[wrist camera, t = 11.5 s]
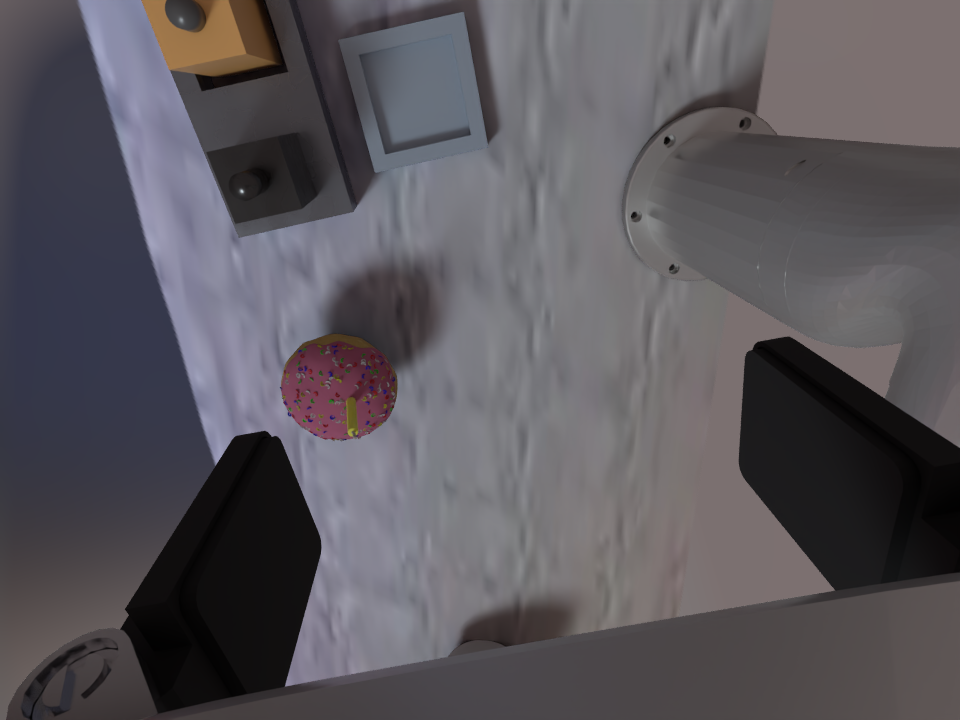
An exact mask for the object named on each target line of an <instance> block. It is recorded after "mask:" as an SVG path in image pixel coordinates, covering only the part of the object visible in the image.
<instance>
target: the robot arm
mask: <svg viewBox="0 0 960 720" xmlns="http://www.w3.org/2000/svg"><path fill="white" fill-rule="evenodd" d="M740 121H741V125H740V127H739V124H740ZM665 137H667V139H668V140H667V142H666V143H665V144H664V139H665ZM633 212H635V215H634V217H632V218H631V214H632V213H633ZM622 222H623V226H624V231H625V235H626V237H627V239H628V242H629V244H630V246H631V248H632V250H633V251H634V252H635V254H636V255H637V256H638V258H639V259H640V260H641V261H642V262H644V263H645V264H646V265H647V266H648V267H650V268H651V269H653V270H654V271H656V272H657V273H659V274H661V275H663V276H666V277H668V278H671V279H676V280H682V281H700V280H705V279H710V280H711V281H713V282H715V283H716V284H718V285H720V286H721V287H723V288H725V289H726V290H728V291H730V292H731V293H733V294H735V295H736V296H738V297H740V298H742V299H743V300H745V301H747V302H748V303H750V304H752V305H753V306H755V307H757V308H758V309H760V310H762V311H763V312H765V313H767V314H768V315H770V316H772V317H774V318H775V319H777V320H779V321H780V322H782V323H784V324H785V325H787V326H789V327H791V328H793V329H795V330H796V331H798V332H800V333H802V334H803V335H806V336H808V337H810V338H812V339H814V340H817V341H820V342H823V343H827V344H830V345H835V346H844V347H855V348H863V347H876V346H886V345H893V344H898V343H902V346H901V350H900V354H899V357H898V360H897V363H896V365H895V368H894V371H893V373H892V376H891V379H890V382H889V388H888V391H887V394H886V396H885V398H883V397H881V396H880V395H878V394H877V393H875V392H874V391H872V390H871V389H869V388H868V387H866V386H865V385H863V384H862V383H860V382H859V381H857V380H856V379H854V378H853V377H851V376H849V375H848V374H846V373H845V372H843V371H842V370H840V369H839V368H837V367H836V366H834V365H833V364H831V363H830V362H828V361H827V360H825V359H823V358H822V357H821V356H819V355H817V354H816V353H814V352H813V351H811V350H810V349H808V348H807V347H805V346H804V345H802V344H801V343H799V342H798V341H796V340H795V339H793V338H791V337H783V338H776V339H771V340H765V341H760V342H757V343H756V344H755V345H754V347H753V350H751V351H748V352H747V354H746V356H745V366H744V383H743V399H742V415H741V432H740V447H739V467H740V471H741V473H742V475H743V477H744V479H745V480H746V482H747V483H748V484H749V485H750V486H751V488H752V489H753V490H754V491H755V493H756V494H757V495H758V496H759V497H760V498H761V500H762V501H763V502H764V504H765V505H766V506H767V507H768V508H769V510H770V511H771V512H772V513H773V514H774V516H775V517H776V518H777V520H778V521H779V522H780V523H781V524H782V526H783V527H784V528H785V529H786V530H787V532H788V533H789V534H790V535H791V537H792V538H793V539H794V540H795V542H796V543H797V544H798V545H799V547H800V548H801V549H802V550H803V551H804V553H805V554H806V555H807V556H808V557H809V559H810V560H811V561H812V562H813V564H814V565H815V566H816V567H817V568H818V570H819V571H820V572H821V574H822V575H823V576H824V577H825V578H826V580H827V581H828V582H829V583H830V585H831V586H832V587H833V588H834V589H835V591H831V592H826V593H819V594H813V595H808V596H801V597H795V598H790V599H783V600H777V601H772V602H765V603H759V604H754V605H747V606H741V607H736V608H729V609H723V610H718V611H711V612H706V613H700V614H694V615H688V616H682V617H676V618H670V619H664V620H658V621H652V622H647V623H641V624H635V625H629V626H623V627H617V628H612V629H606V630H600V631H594V632H588V633H583V634H577V635H571V636H565V637H560V638H554V639H548V640H542V641H537V642H531V643H525V644H519V645H514V646H508V647H502V648H496V649H491V650H485V651H479V652H473V653H468V654H462V655H457V656H451V657H446V658H440V659H434V660H429V661H423V662H418V663H412V664H406V665H401V666H395V667H390V668H384V669H379V670H373V671H367V672H362V673H356V674H351V675H345V676H339V677H334V678H328V679H323V680H317V681H312V682H307V683H302V684H297V685H292V686H287V687H285V684H286V680H287V676H288V673H289V669H290V665H291V662H292V658H293V654H294V651H295V647H296V643H297V640H298V636H299V632H300V629H301V625H302V621H303V618H304V614H305V610H306V607H307V603H308V599H309V595H310V592H311V588H312V584H313V581H314V577H315V573H316V570H317V566H318V562H319V559H320V555H321V539H320V535H319V532H318V530H317V528H316V525H315V523H314V520H313V518H312V515H311V513H310V510H309V508H308V505H307V503H306V501H305V498H304V496H303V493H302V491H301V488H300V486H299V483H298V481H297V478H296V476H295V474H294V471H293V469H292V466H291V464H290V461H289V459H288V456H287V454H286V452H285V449H284V447H283V444H282V442H281V440H280V439H279V438H278V437H277V436H274V437H271V435H270V434H269V433H268V432H266V431H261V432H255V433H250V434H244V435H239V436H235V437H234V438H233V439H232V441H231V443H230V444H229V446H228V447H227V449H226V450H225V452H224V454H223V455H222V457H221V458H220V460H219V462H218V463H217V465H216V466H215V468H214V469H213V471H212V473H211V474H210V476H209V477H208V479H207V481H206V482H205V484H204V485H203V487H202V488H201V490H200V492H199V493H198V495H197V496H196V498H195V499H194V501H193V503H192V504H191V506H190V508H189V509H188V511H187V512H186V514H185V516H184V517H183V518H182V520H181V522H180V523H179V525H178V526H177V528H176V530H175V531H174V533H173V534H172V536H171V537H170V539H169V541H168V542H167V544H166V545H165V547H164V549H163V550H162V552H161V553H160V555H159V556H158V558H157V560H156V561H155V563H154V564H153V566H152V567H151V569H150V571H149V572H148V574H147V576H146V577H145V578H144V580H143V582H142V583H141V585H140V586H139V588H138V590H137V591H136V593H135V594H134V596H133V597H132V599H131V601H130V602H129V604H128V605H127V607H126V608H125V610H126V611H127V613H128V614H129V616H128V618H127V619H126V621H125V622H124V624H123V626H122V627H121V629H120V630H119V629H115V628H107V629H99V630H96V631H93V632H90V633H87V634H84V635H82V636H80V637H78V638H76V639H74V640H72V641H70V642H69V643H67V644H65V645H63V646H62V647H61V648H59V649H58V650H56V651H55V652H54V653H52V654H51V655H49V656H48V657H47V658H46V659H44V660H43V661H42V662H41V663H40V664H39V665H38V666H37V667H36V668H35V669H34V670H33V671H32V672H31V673H30V674H29V675H28V676H27V677H26V679H25V680H24V681H23V682H22V684H21V685H20V686H19V687H18V689H17V690H16V692H15V694H14V696H13V698H12V700H11V702H10V704H9V706H8V712H7V718H6V720H960V148H956V147H927V146H912V145H900V144H884V143H870V142H858V141H845V140H844V141H843V140H831V139H819V138H805V137H791V136H779V135H777V133H776V132H775V131H774V130H773V129H772V128H771V127H770V125H769V124H768V123H767V122H765V121H764V120H763V119H761V118H760V117H758V116H757V115H755V114H754V113H751V112H748V111H745V110H742V109H739V108H730V107H709V108H705V109H700V110H696V111H692V112H690V113H688V114H685V115H683V116H681V117H679V118H677V119H675V120H674V121H672V122H671V123H669V124H668V125H666V126H665V127H663V128H662V129H661V130H660V131H659V132H658V133H657V134H656V135H655V136H654V137H653V138H652V139H650V140H649V142H648V143H647V144H646V146H645V147H644V148H643V150H642V151H641V152H640V154H639V155H638V157H637V158H636V160H635V162H634V164H633V166H632V168H631V170H630V172H629V175H628V178H627V181H626V184H625V187H624V193H623V199H622ZM671 265H672V267H671V268H669V267H670V266H671Z"/></svg>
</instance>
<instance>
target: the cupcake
mask: <svg viewBox="0 0 960 720" xmlns="http://www.w3.org/2000/svg"><path fill="white" fill-rule="evenodd" d="M280 388H281V391H282V397H283V398H282V399H283V400H284V402H283V403H284V404H285V406H286V408H287V409H288V411H289V412H288V416H292V417H293V419H294V420H295V421H296V422H297V423H298V424H299V425H300V426H301V427H302V428H304V429H305V430H307V431H309V432H311V433H313V434H314V435H315V436H318V437H320V438H323V439H331V440H333V439H335V440H339V439H340V441H344V440H347V439H352V438H354V439H357V437H358V439H360V438H361V436H364V435H366V434H370V432H372V431H373V430H375V429H376V428H378V427H379V426H381V425H382V424H383V423H384V422H386V421H387V419H388V417H389V416H390V414H391V412H392V410H393V408H394V404H395V401H396V397H397V376H396V373H395V371H394V370H393V368H392V366H391V365H390V363H389V361H388V359H387V357H386V356H385V355H384V354H383V353H382V352H380V351H379V350H377V349H376V348H375V347H373V346H372V345H371V344H369V343H368V342H366V341H365V340H363V339H361V338H359V337H355V336H348V335H343V334H330V335H326V336H322V337H319V338H317V339H314V340H311V341H307V342H305V343H303V344H302V345H301V346H300V347H299V348H298V349H297V350H296V351H295V353H294V354H293V355H292V356H291V357H290V358H289V359H288V361H287V362H286V364H285V367H284V372H283V376H282V381H281V387H280ZM289 413H290V415H289ZM335 440H333V441H335Z"/></svg>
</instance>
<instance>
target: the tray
mask: <svg viewBox="0 0 960 720" xmlns="http://www.w3.org/2000/svg"><path fill="white" fill-rule="evenodd" d="M338 41H339V45H340V49H341V52H342V56H343V59H344V63H345V67H346V70H347V74H348V77H349V81H350V85H351V88H352V92H353V95H354V99H355V103H356V106H357V110H358V113H359V117H360V121H361V124H362V128H363V132H364V135H365V139H366V142H367V146H368V150H369V153H370V157H371V160H372V164H373V168H374V171H375V173H377V172H382V171H386V170H391V169H395V168H399V167H404V166H408V165H413V164H417V163H421V162H426V161H430V160H435V159H439V158H444V157H448V156H452V155H457V154H461V153H466V152H470V151H475V150H479V149H483V148H488V143H487V137H486V132H485V126H484V121H483V115H482V110H481V104H480V99H479V93H478V88H477V82H476V76H475V71H474V65H473V60H472V54H471V49H470V43H469V38H468V32H467V27H466V21H465V16H464V12H460V13H455V14H451V15H446V16H442V17H438V18H433V19H429V20H424V21H420V22H415V23H411V24H406V25H402V26H398V27H393V28H389V29H384V30H380V31H375V32H371V33H367V34H362V35H358V36H353V37H349V38H344V39H340V40H338Z"/></svg>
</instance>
